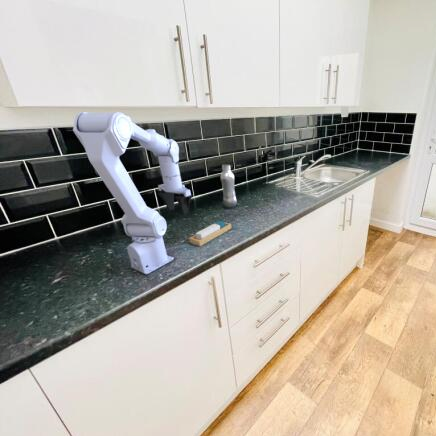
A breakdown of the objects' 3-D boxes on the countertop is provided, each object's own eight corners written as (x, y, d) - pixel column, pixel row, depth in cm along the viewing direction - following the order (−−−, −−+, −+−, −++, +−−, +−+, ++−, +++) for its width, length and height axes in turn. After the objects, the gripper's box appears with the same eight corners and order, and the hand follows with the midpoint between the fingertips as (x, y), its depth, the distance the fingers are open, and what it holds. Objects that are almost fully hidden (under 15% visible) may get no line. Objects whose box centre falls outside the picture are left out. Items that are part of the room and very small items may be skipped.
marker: (202, 241, 91) (201, 234, 90) (196, 239, 93) (195, 232, 91) (225, 228, 101) (225, 222, 100) (220, 227, 102) (219, 220, 101)
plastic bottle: (225, 209, 120) (219, 167, 112) (222, 205, 126) (217, 164, 117) (238, 207, 122) (234, 166, 114) (236, 203, 128) (231, 163, 120)
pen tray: (200, 246, 89) (199, 241, 88) (189, 242, 92) (189, 238, 91) (231, 228, 102) (231, 223, 101) (222, 225, 104) (221, 221, 104)
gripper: (195, 175, 88) (201, 211, 93) (167, 170, 94) (174, 204, 100) (177, 180, 82) (185, 218, 88) (149, 174, 89) (158, 210, 94)
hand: (178, 211), depth 94 cm, fingers open, 7 cm apart
